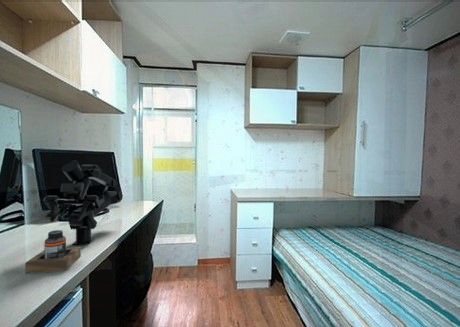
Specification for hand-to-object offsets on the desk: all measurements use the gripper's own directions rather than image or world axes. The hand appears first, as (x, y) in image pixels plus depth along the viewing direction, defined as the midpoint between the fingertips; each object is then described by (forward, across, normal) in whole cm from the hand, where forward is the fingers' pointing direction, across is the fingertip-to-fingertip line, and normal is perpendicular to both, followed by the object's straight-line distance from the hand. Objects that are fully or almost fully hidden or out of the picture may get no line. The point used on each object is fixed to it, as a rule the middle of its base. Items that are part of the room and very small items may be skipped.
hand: (64, 220), depth 86 cm
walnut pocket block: (+14, +1, +4) cm, 15 cm away
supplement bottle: (+15, +1, +4) cm, 15 cm away
